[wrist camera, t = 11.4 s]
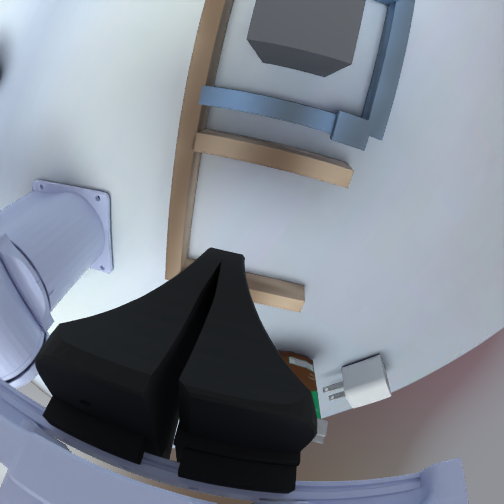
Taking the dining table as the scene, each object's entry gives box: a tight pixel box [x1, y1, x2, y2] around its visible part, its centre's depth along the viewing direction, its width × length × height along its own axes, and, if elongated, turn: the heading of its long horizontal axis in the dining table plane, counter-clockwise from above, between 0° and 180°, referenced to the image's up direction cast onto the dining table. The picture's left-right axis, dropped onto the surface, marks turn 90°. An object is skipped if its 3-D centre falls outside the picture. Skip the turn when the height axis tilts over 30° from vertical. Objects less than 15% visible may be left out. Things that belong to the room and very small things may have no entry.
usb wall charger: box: [323, 355, 391, 408], centre depth 27 cm, size 4×7×4 cm, turn 121°
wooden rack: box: [165, 0, 415, 312], centre depth 16 cm, size 12×26×3 cm, turn 169°
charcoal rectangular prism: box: [247, 0, 366, 77], centre depth 11 cm, size 4×4×8 cm
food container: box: [278, 350, 328, 444], centre depth 25 cm, size 12×6×10 cm, turn 138°
